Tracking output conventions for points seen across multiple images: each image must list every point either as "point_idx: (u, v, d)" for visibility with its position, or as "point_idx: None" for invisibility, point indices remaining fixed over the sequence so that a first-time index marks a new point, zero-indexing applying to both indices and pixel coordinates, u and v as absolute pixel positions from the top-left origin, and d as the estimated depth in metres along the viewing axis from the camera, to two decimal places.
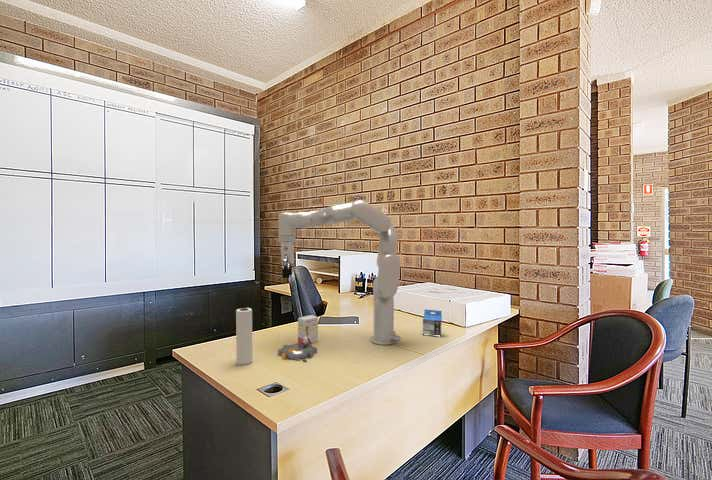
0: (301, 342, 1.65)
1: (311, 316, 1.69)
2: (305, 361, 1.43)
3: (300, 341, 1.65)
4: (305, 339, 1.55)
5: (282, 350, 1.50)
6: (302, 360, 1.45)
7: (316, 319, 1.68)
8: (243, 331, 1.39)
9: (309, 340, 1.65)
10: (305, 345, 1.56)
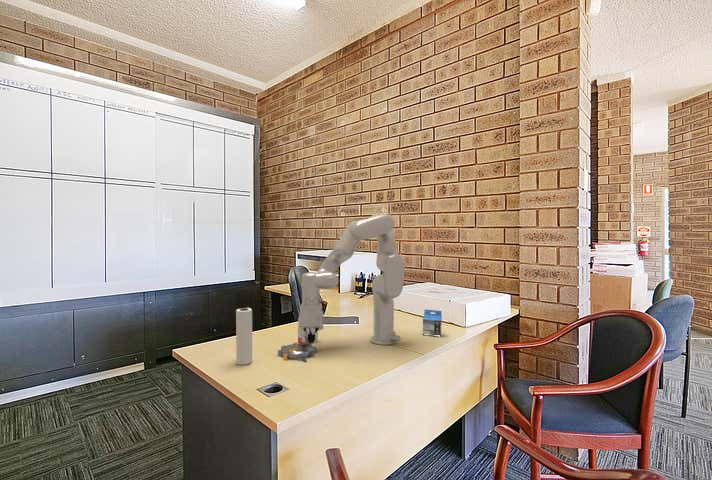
0: (301, 342, 1.65)
1: None
2: (305, 361, 1.43)
3: (300, 341, 1.65)
4: (304, 339, 1.56)
5: (282, 351, 1.50)
6: (302, 360, 1.45)
7: None
8: (243, 331, 1.39)
9: None
10: (304, 345, 1.56)
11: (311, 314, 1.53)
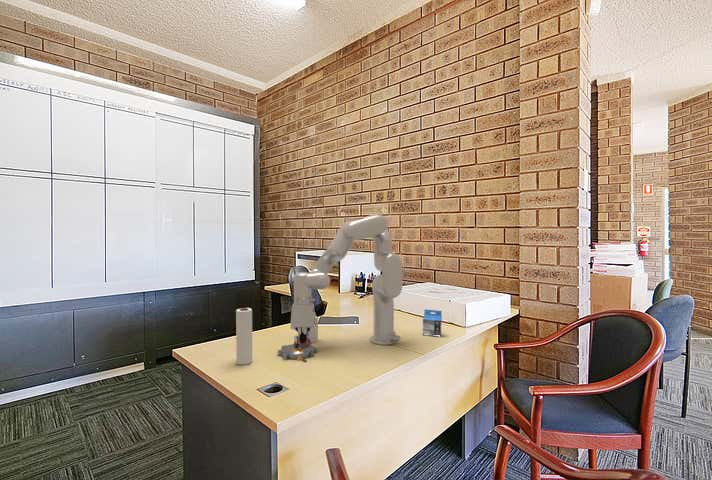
0: None
1: None
2: (305, 361, 1.43)
3: None
4: (297, 338, 1.57)
5: (289, 353, 1.47)
6: (302, 360, 1.45)
7: (316, 319, 1.68)
8: (243, 331, 1.39)
9: (309, 340, 1.65)
10: (297, 344, 1.57)
11: (303, 314, 1.53)
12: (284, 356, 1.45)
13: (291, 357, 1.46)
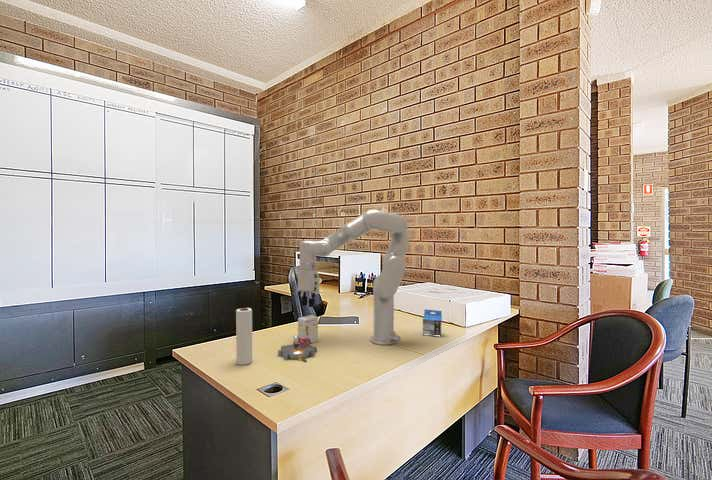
0: (301, 342, 1.65)
1: (311, 316, 1.69)
2: (305, 361, 1.43)
3: (300, 341, 1.65)
4: (297, 338, 1.57)
5: (290, 353, 1.46)
6: (302, 360, 1.45)
7: (316, 319, 1.68)
8: (243, 331, 1.39)
9: (309, 340, 1.65)
10: (297, 344, 1.57)
11: (305, 279, 1.64)
12: (285, 356, 1.45)
13: (292, 357, 1.46)
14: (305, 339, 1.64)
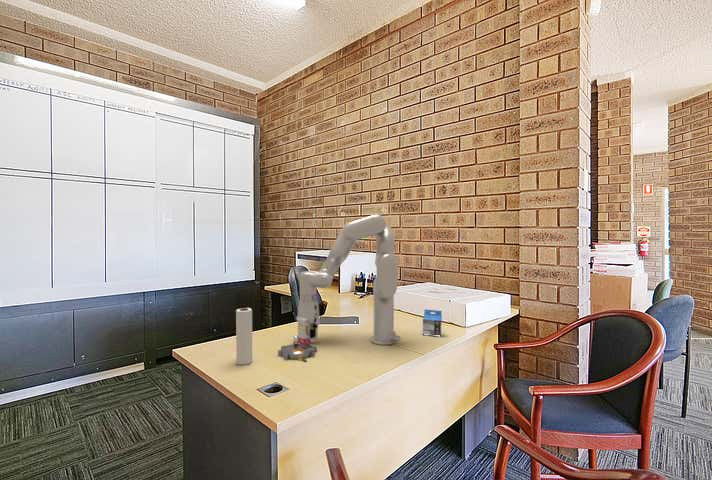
0: (301, 342, 1.65)
1: None
2: (305, 361, 1.43)
3: (300, 341, 1.65)
4: (297, 338, 1.57)
5: (290, 353, 1.46)
6: (302, 360, 1.45)
7: None
8: (243, 331, 1.39)
9: (309, 340, 1.65)
10: (297, 344, 1.57)
11: (305, 310, 1.65)
12: (285, 356, 1.45)
13: (292, 357, 1.46)
14: (305, 339, 1.64)
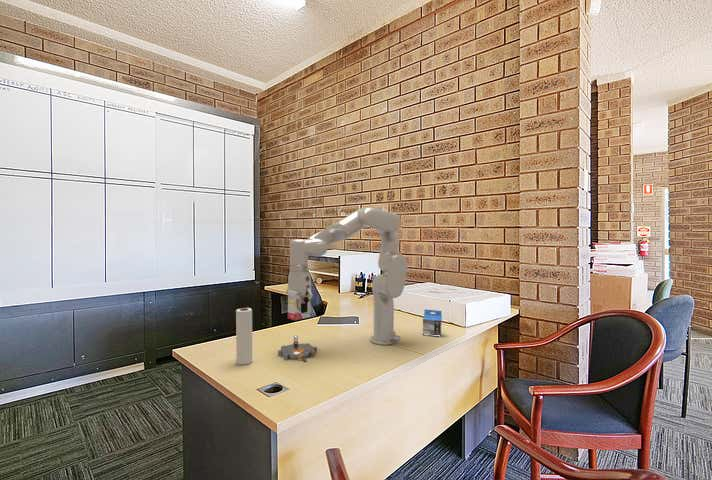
0: (291, 317, 1.48)
1: None
2: (305, 361, 1.43)
3: (290, 316, 1.48)
4: (297, 338, 1.57)
5: (290, 353, 1.46)
6: (302, 360, 1.45)
7: None
8: (243, 331, 1.39)
9: (300, 315, 1.49)
10: (297, 344, 1.57)
11: (295, 282, 1.48)
12: (285, 356, 1.45)
13: (292, 357, 1.46)
14: (295, 314, 1.47)
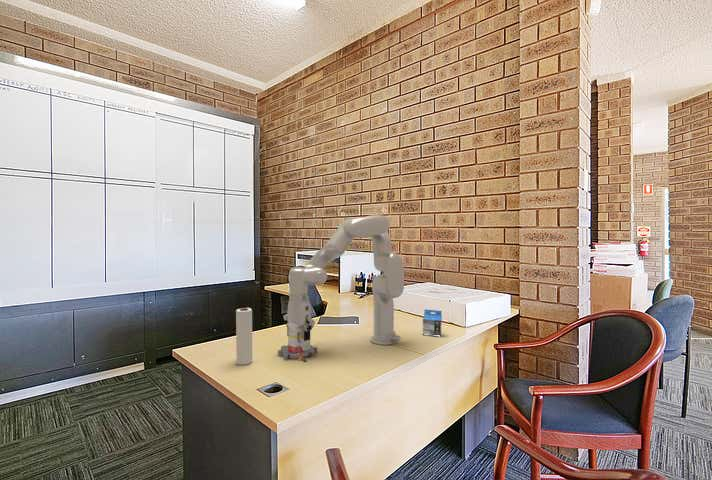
0: (292, 351, 1.47)
1: None
2: (305, 361, 1.43)
3: (291, 349, 1.48)
4: None
5: (290, 353, 1.46)
6: (302, 360, 1.45)
7: None
8: (243, 331, 1.39)
9: (301, 348, 1.48)
10: None
11: (295, 311, 1.48)
12: (285, 356, 1.45)
13: (292, 357, 1.46)
14: (296, 347, 1.46)
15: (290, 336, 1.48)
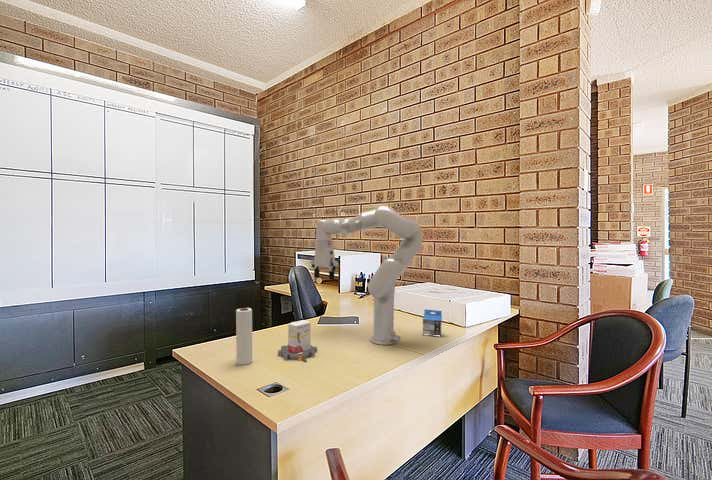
0: (292, 351, 1.47)
1: (303, 321, 1.52)
2: (305, 361, 1.43)
3: (291, 349, 1.48)
4: None
5: (290, 353, 1.46)
6: (302, 360, 1.45)
7: (308, 325, 1.51)
8: (243, 331, 1.39)
9: (301, 348, 1.48)
10: None
11: (321, 255, 1.77)
12: (285, 356, 1.45)
13: (292, 357, 1.46)
14: (296, 347, 1.46)
15: (290, 336, 1.48)
